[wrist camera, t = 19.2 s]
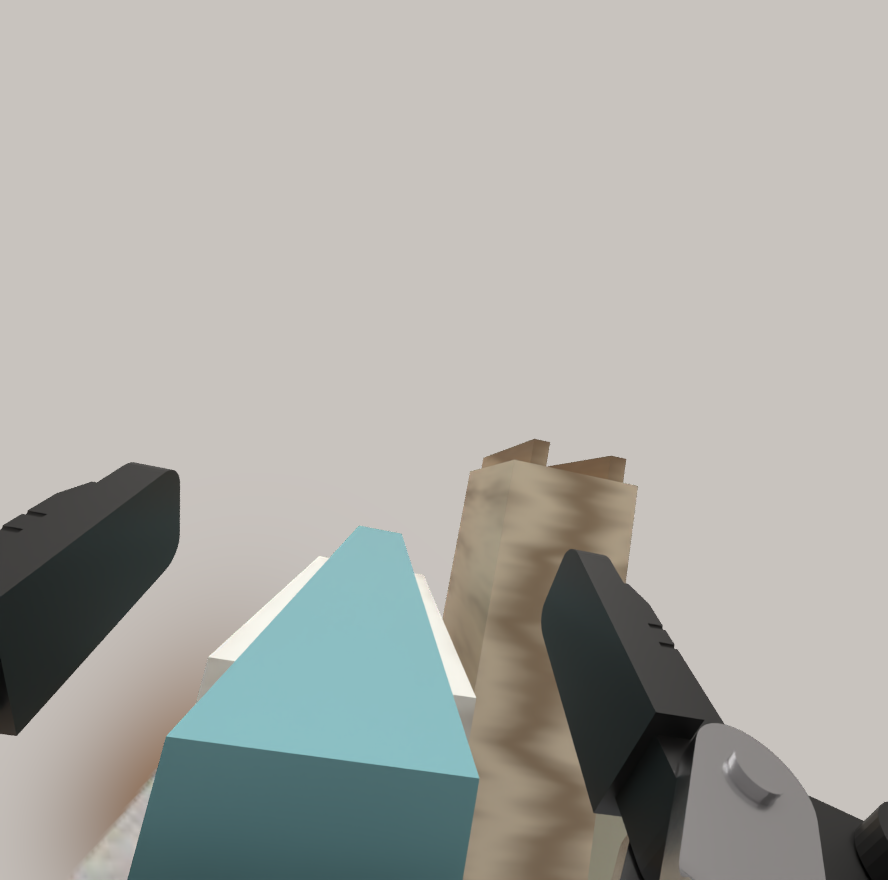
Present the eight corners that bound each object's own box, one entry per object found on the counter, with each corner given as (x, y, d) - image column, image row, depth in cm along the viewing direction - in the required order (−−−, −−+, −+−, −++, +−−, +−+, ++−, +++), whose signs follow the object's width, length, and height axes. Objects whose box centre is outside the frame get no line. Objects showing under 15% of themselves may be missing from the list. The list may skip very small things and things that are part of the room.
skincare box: (545, 853, 35) (567, 698, 37) (597, 863, 35) (616, 708, 37) (570, 928, 29) (595, 738, 31) (633, 940, 29) (654, 750, 31)
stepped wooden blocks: (496, 841, 36) (554, 472, 40) (737, 1615, 11) (815, 441, 16) (266, 813, 34) (355, 430, 38) (-61, 1677, 9) (297, 318, 14)
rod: (392, 577, 29) (401, 533, 30) (418, 1145, 4) (479, 779, 4) (349, 569, 29) (359, 525, 30) (59, 1130, 3) (166, 735, 4)
